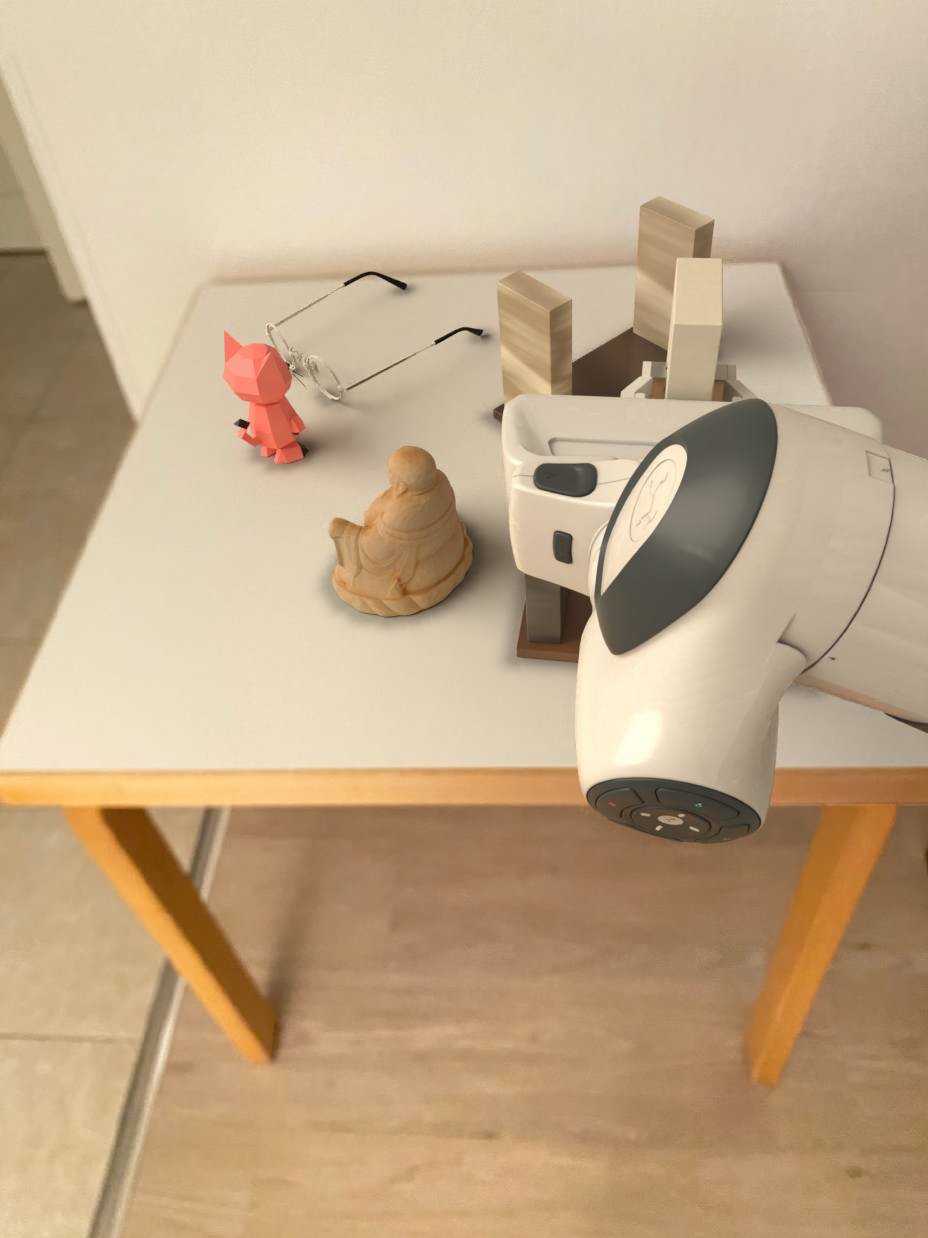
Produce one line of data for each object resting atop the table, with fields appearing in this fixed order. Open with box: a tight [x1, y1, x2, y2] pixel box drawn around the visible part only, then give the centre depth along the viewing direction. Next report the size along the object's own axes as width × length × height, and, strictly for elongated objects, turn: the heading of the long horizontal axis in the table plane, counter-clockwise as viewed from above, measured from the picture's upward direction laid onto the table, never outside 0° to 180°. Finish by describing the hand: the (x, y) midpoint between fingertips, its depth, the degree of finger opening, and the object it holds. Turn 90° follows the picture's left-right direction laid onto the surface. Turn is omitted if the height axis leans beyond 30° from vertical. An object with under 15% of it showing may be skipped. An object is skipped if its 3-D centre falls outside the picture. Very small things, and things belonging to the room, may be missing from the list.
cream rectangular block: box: [665, 257, 724, 401], centre depth 57 cm, size 2×6×13 cm, turn 170°
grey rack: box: [516, 573, 593, 663], centre depth 68 cm, size 21×8×14 cm, turn 80°
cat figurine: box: [222, 330, 310, 465], centre depth 86 cm, size 7×7×12 cm
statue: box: [327, 445, 474, 618], centre depth 75 cm, size 12×14×10 cm
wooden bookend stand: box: [492, 195, 716, 424], centre depth 88 cm, size 21×8×14 cm, turn 130°
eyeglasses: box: [264, 270, 484, 401], centre depth 98 cm, size 16×19×5 cm
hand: (687, 372), depth 57 cm, fingers closed on cream rectangular block, 2 cm apart
